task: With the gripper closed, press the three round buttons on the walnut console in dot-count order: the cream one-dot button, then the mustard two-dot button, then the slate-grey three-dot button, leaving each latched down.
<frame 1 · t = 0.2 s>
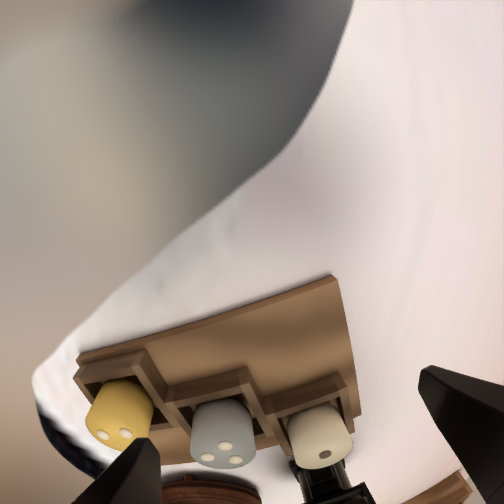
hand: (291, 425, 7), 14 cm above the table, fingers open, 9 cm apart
cream button: (319, 437, 20), point 5 cm above the table, slide at 0.0 cm
console: (227, 395, 23), on the table
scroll: (207, 493, 28), on the table
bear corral: (422, 500, 40), on the table
slate button: (222, 435, 18), point 5 cm above the table, slide at 0.0 cm
mustard button: (120, 416, 17), point 5 cm above the table, slide at 0.0 cm
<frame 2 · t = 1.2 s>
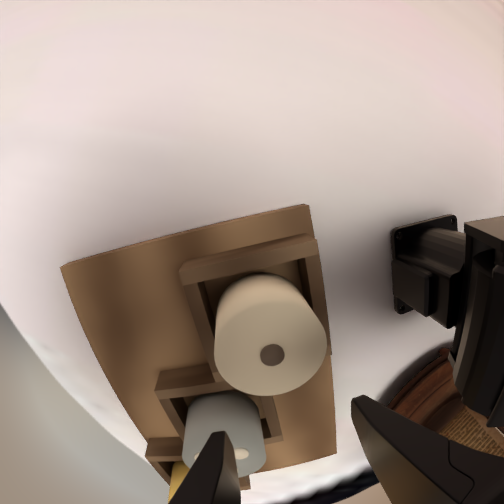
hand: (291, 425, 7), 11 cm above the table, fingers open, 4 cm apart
cream button: (266, 332, 13), point 5 cm above the table, slide at 0.0 cm
console: (221, 385, 19), on the table
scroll: (426, 398, 23), on the table
slate button: (223, 437, 15), point 5 cm above the table, slide at 0.0 cm
mustard button: (199, 490, 16), point 5 cm above the table, slide at 0.0 cm
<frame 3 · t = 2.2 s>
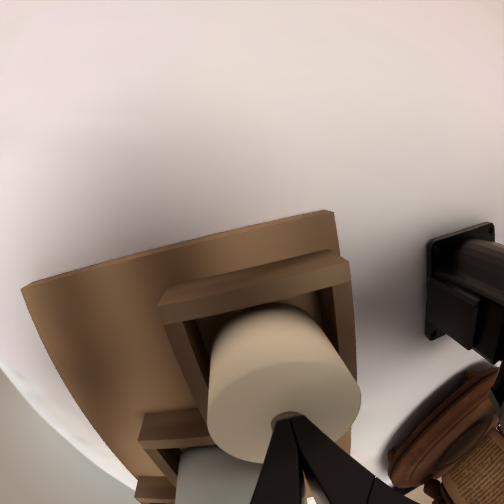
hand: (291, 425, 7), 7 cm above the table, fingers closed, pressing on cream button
cream button: (277, 385, 9), point 5 cm above the table, slide at 0.3 cm, touching gripper
console: (219, 426, 15), on the table
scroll: (445, 422, 19), on the table
slate button: (223, 492, 11), point 5 cm above the table, slide at 0.0 cm
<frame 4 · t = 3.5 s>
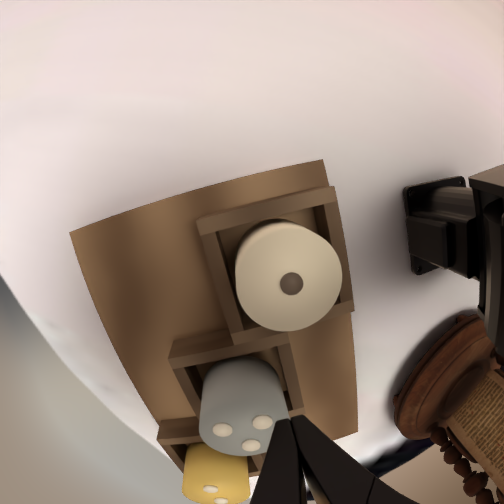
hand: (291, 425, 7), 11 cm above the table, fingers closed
cream button: (283, 270, 14), point 3 cm above the table, slide at 1.4 cm
console: (238, 356, 19), on the table
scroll: (445, 371, 22), on the table
slate button: (243, 408, 14), point 5 cm above the table, slide at 0.0 cm
mustard button: (216, 474, 16), point 5 cm above the table, slide at 0.0 cm
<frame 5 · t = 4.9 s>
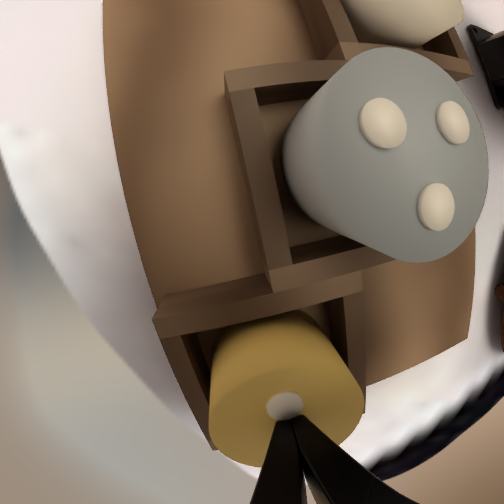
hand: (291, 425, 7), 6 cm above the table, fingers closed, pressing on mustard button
console: (321, 155, 11), on the table
slate button: (382, 156, 7), point 5 cm above the table, slide at 0.0 cm
mustard button: (279, 389, 9), point 4 cm above the table, slide at 1.0 cm, touching gripper
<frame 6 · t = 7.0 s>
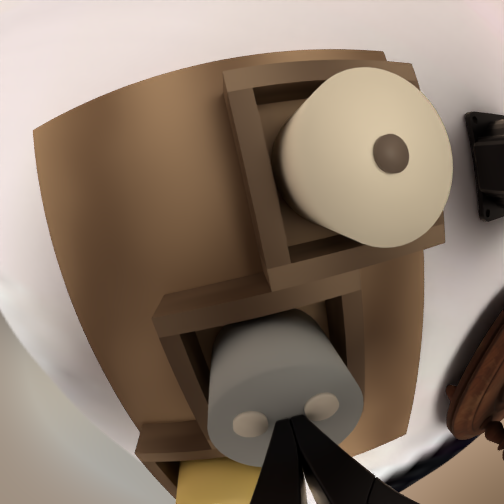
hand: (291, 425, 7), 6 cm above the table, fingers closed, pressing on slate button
cream button: (358, 159, 8), point 3 cm above the table, slide at 1.4 cm
console: (262, 327, 13), on the table
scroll: (496, 356, 16), on the table
slate button: (278, 389, 9), point 4 cm above the table, slide at 1.0 cm, touching gripper
mustard button: (223, 487, 11), point 4 cm above the table, slide at 1.2 cm
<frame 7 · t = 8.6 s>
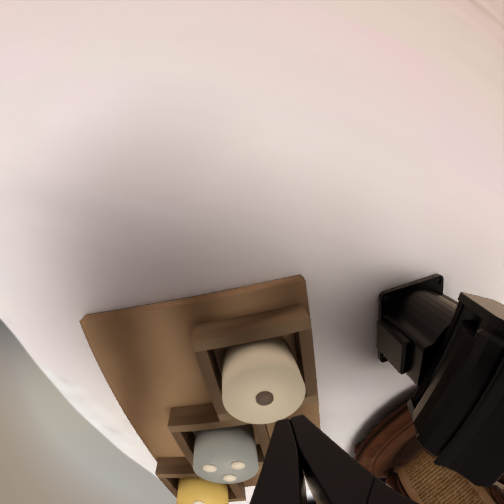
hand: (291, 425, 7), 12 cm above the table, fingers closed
cream button: (260, 378, 17), point 3 cm above the table, slide at 1.4 cm
console: (223, 417, 21), on the table
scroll: (406, 425, 25), on the table
slate button: (225, 451, 18), point 4 cm above the table, slide at 1.2 cm
mustard button: (202, 491, 19), point 4 cm above the table, slide at 1.2 cm
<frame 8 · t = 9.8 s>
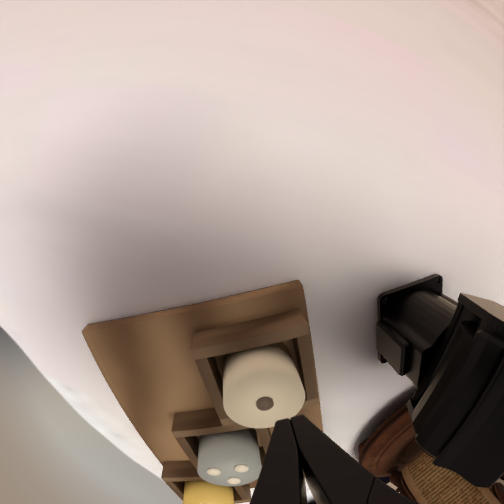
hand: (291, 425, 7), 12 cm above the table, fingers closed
cream button: (261, 383, 17), point 3 cm above the table, slide at 1.4 cm
console: (226, 420, 21), on the table
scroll: (409, 424, 25), on the table
slate button: (229, 454, 18), point 4 cm above the table, slide at 1.2 cm
mustard button: (208, 494, 19), point 4 cm above the table, slide at 1.2 cm
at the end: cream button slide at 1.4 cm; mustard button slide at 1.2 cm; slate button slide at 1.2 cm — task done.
